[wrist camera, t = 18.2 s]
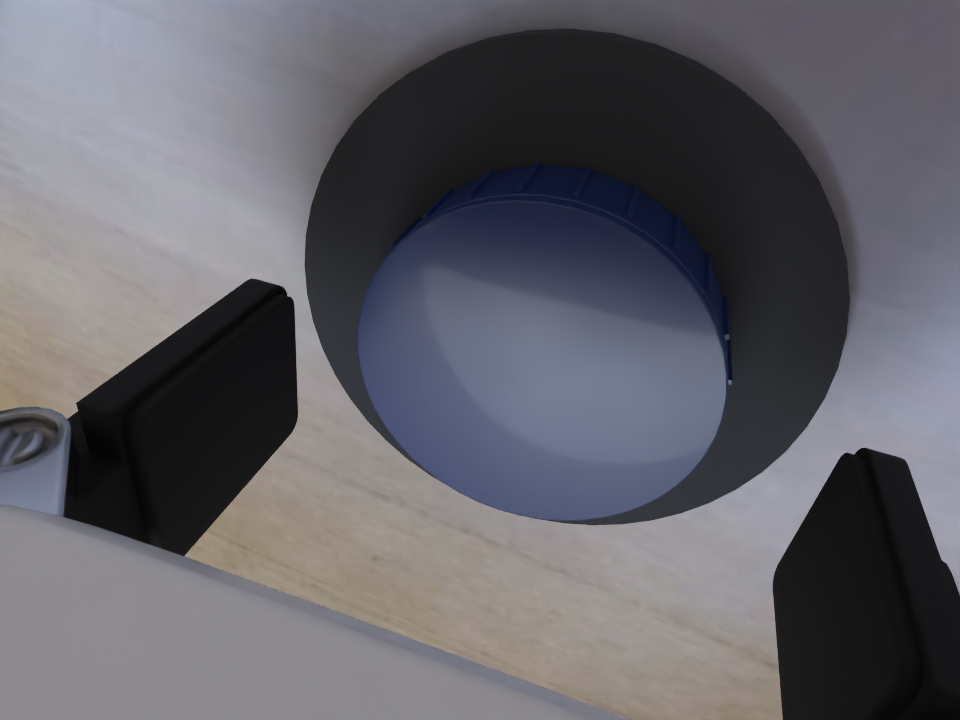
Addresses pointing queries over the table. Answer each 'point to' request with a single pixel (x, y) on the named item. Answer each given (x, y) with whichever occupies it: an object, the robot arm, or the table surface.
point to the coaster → (631, 159)
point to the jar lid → (549, 344)
